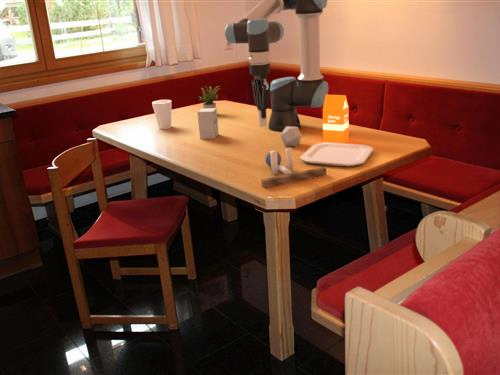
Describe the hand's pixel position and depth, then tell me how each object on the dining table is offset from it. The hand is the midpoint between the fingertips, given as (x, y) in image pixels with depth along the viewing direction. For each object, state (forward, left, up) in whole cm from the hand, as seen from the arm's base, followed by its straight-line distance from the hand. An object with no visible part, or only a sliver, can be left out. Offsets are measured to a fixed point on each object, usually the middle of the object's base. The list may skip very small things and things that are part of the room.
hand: (262, 126), depth 200 cm
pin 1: (+3, +16, -14) cm, 21 cm away
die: (-18, -13, -14) cm, 26 cm away
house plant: (-7, -87, -14) cm, 88 cm away
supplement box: (+8, -46, -14) cm, 49 cm away
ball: (0, +9, -11) cm, 14 cm away
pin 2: (-3, +16, -14) cm, 21 cm away
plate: (-26, +11, -15) cm, 32 cm away
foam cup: (+22, -76, -14) cm, 80 cm away
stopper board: (0, +26, -14) cm, 29 cm away
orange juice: (-36, -7, -14) cm, 39 cm away
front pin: (0, +14, -13) cm, 19 cm away
